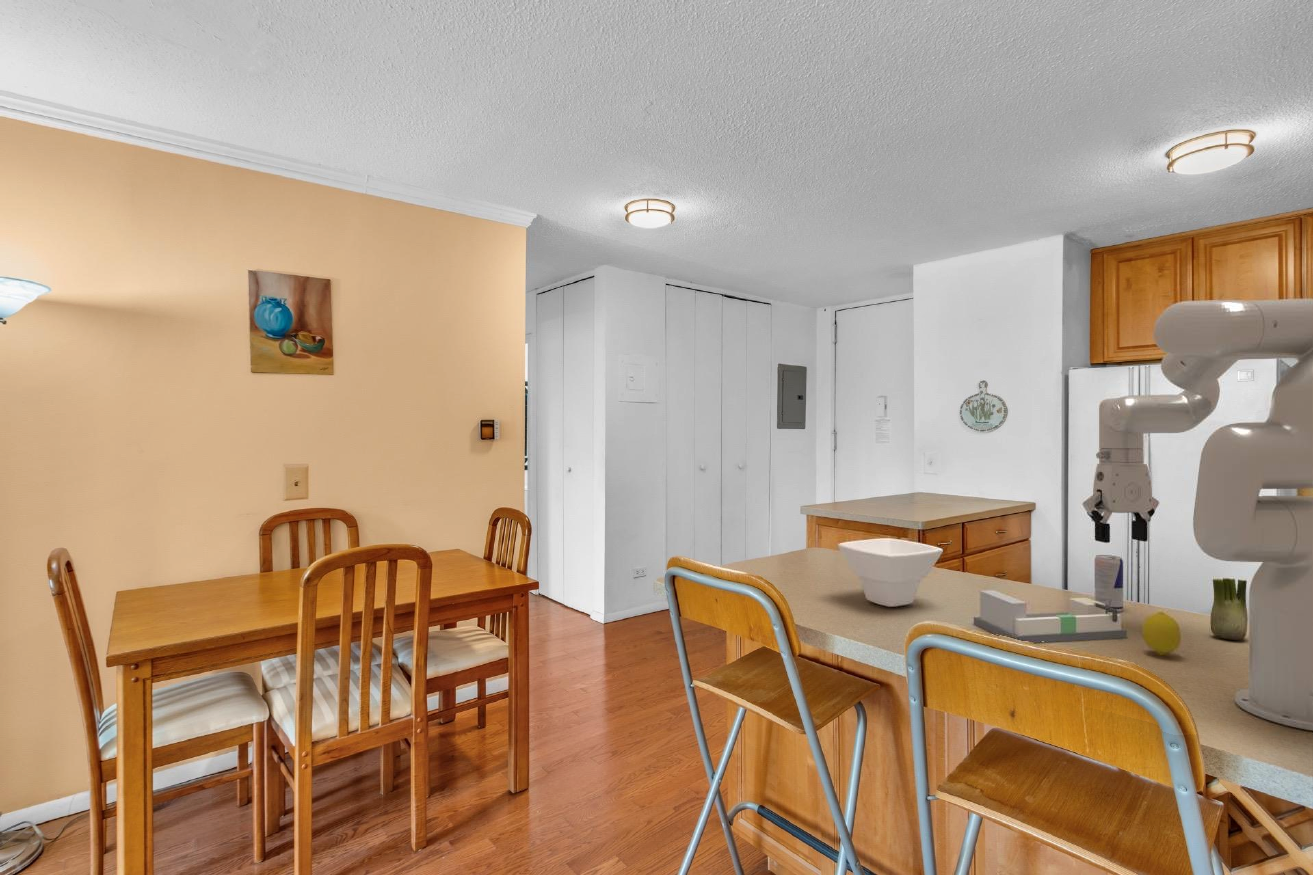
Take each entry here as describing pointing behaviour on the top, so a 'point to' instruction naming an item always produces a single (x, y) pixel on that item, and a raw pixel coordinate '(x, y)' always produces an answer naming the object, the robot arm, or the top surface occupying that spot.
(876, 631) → the top surface
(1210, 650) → the top surface
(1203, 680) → the top surface
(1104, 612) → the carriage
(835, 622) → the top surface
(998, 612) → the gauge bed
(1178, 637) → the lemon
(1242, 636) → the fennel bulb
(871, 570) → the bowl
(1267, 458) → the robot arm
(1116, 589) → the energy drink
